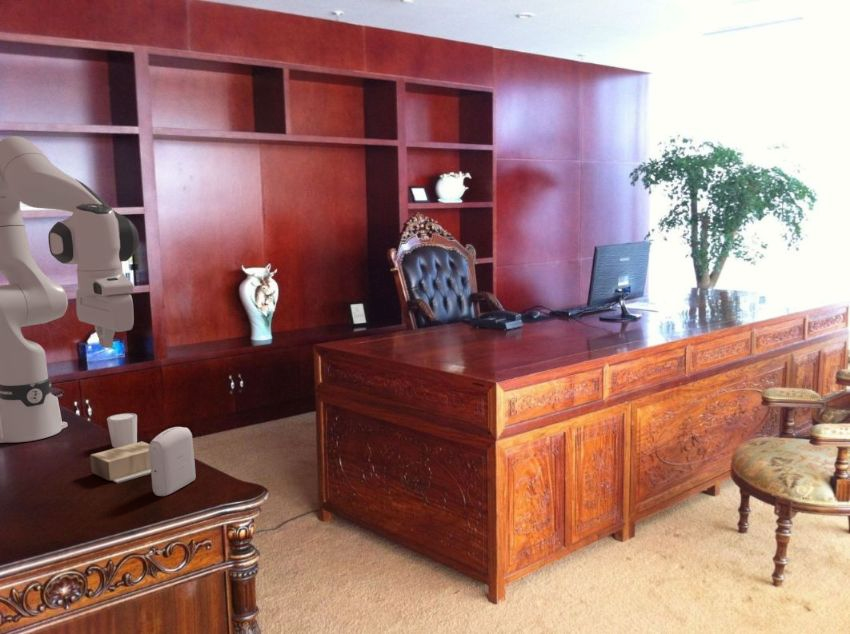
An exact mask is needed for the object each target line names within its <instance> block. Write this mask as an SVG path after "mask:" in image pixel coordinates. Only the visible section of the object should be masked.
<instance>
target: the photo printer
mask: <svg viewBox="0 0 850 634" xmlns="http://www.w3.org/2000/svg"><path fill="white" fill-rule="evenodd" d="M149 444H150V445H149V455H150V465H151V474H150V475H151V487H152V491H153V493H154V495H155V496H158V497H166V496H168V495H170V494H172V493H174V492H176V491H178V490H179V489H181V488H183V487H185V486H187V485H189V484H190V483H192V482H193V481H195V480H196V479H197V478H196V477H197V476H196V473H197V472H196V466H195V465H196V464H195V452H194V442H193V434H192V432H191V430H190V429H189V428H188V427H182V426H174V427H170V428H167V429H165V430H164V431H162V432H160V433H159V434H158V435H156V436H155V437H154V438H153V439H152V440H151V441H150V443H149Z"/></svg>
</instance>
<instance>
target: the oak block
mask: <svg viewBox="0 0 850 634" xmlns="http://www.w3.org/2000/svg"><path fill="white" fill-rule="evenodd" d="M149 445H150V443H147V442H145V441H142V440H141V441H137V443H133V444H130V445H126V446H122V447H118V448H115V447H113V448H110V449H107V450H104V451H100V452H96V453H92V454H89V455H90V456H89V458H90V467H91V473H92V474H94V475H96V476H98V477H101V478H103V479H105V480H107V481H112V480H113V479H116V478H120V477H123V476H126V475H130V474H133V473H137V472H140V471H144V470H147V469H150V468H151V465H150V455H149Z"/></svg>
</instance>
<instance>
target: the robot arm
mask: <svg viewBox="0 0 850 634" xmlns="http://www.w3.org/2000/svg"><path fill="white" fill-rule="evenodd" d="M21 203H22V204H24V205H25V206H28V207H31V208H34V209H47V210H56V211H65V212H66V211H67V212H71V213H72V214H71V216H69V217H68V218H66V219H64V220H63V219H62V220H61V221H57V222H56V223H55V224H54V225H53V226H52V227H51V228H50V230H49V233H48V237H47V238H48V246H49V253H50V254H51V256H52V257H53V258H54V259H55V260H57V262H59V263H61V264H62V265H77V266H76V274H77V275H76V276H77V285H78V287H77V288H78V289H76V295H75V296H76V297H75V299H76V303H75V304H76V316H77V319H78V321H79V322H83V323H86V324H89V325H92V326H94V330H95V333H96V335H97V337H98V343H99V344H98V345H99V346H100V347H103V348H106V349H109V348H113V347H114V337H115V334H116V332H118V333H120V332H127V331H131V330H132V329H133V327H134V325H135V324H134V321H135V318H134V314H135V313H134V303H133V302H134V301H133V298H132V295H131V294H132V293H134V284H133V282H132V281H131V280H129V279H128V278H127V277H126V275H125V274H124V273H123V264H122V262H128V261H129V260H130V259H131V257H132V256H133V255H134V254H135V253H136V252H137V250H138V248H139V246H140V236H139V232H138V228H137V227H136V226H135V224H134V223H133V222H132V221H131V220H130V219H129V218H127V217H126V216H125V215H122V214H120V213H118V212H117V211H115V210H114V209H113V208H112V207H111V206H110V205H109V204H107V202H106V201H105V200H103V198H101V197H100V196H99V195H98V194H97V193H96V192H95V191H93V189H91V188H90V187H88V186H87V184H85V183H83V182H82V181H80V180H78V179H76V178H74V177H72V176H71V175H69V174H67V173H65V172H64V171H62V170H61V169H59V168H58V167H57V166H55V165H54V164H53V163H52V162H51V161H50V160H49V158H48V157H47V156H46V155H45V154H44V152H42V150H41V149H40V148H39V147H38V146H36V145H35V144H34V143H33V142H31V141H29V140H28V139H26V138H25V137H22V136H18V135H13V136H7V137H5V138H2V139H1V140H0V273H1V274H2V275H4V277H5V279H6V280H7V282H8V284H2V285H1V284H0V443H1V444H2V443H3V444H4V443H22V442H23V443H24V442H32V441H38V440H42V439H45V438H49V437H52V436H54V435H57V434H58V433H60V432H61V431H62V430H63V429H65V428H67V427H68V422H66V421H62V414H61V409H60V405H59V404H60V403H59V399H58V397H57V396H55V395H54V394H52V383H51V382H52V381H51V378H50V377H49V375H48V364H47V356H46V350H45V349H44V348H43V347H42V345H40V343H37V342H35V341H32V340H29V339H26V338H25V337H24V335H23V333H22V330H21V329H22V327H23V328H24V327H29V326H34V325H35V326H37V325H41V324H47V323H49V322H51V321H52V322H53V321H54V320H57V319H60V318H62V317H63V316H65V314H66V311H67V309H68V305H69V299H68V296H67V292H66V291H65V289H64V288H63V287H62V286H61V284H59V283H58V282H56V281H54V280H52V279H50V278H49V276H47V275H46V274H45V273H44V272H43V271H42V270H41V269H40V267H39V266H38V264H37V262H36V260H35V259H34V257H33V255H32V251H31V248H30V244H29V241H28V240H29V239H28V235H27V231H26V225H25V221H24V218H23V214H22V210H21Z"/></svg>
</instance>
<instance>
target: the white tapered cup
mask: <svg viewBox="0 0 850 634" xmlns="http://www.w3.org/2000/svg"><path fill="white" fill-rule="evenodd" d="M106 421H107V426H108V431H109V436H110V441H111V446H112V448H118V447H122V446H126V445H130V444H133V443H137V442H138V415H137V414H136V413H132V412H130V413H129V412H126V413H125V412H124V413H119V414H113V415H110V416H108V417H107V418H106Z"/></svg>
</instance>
